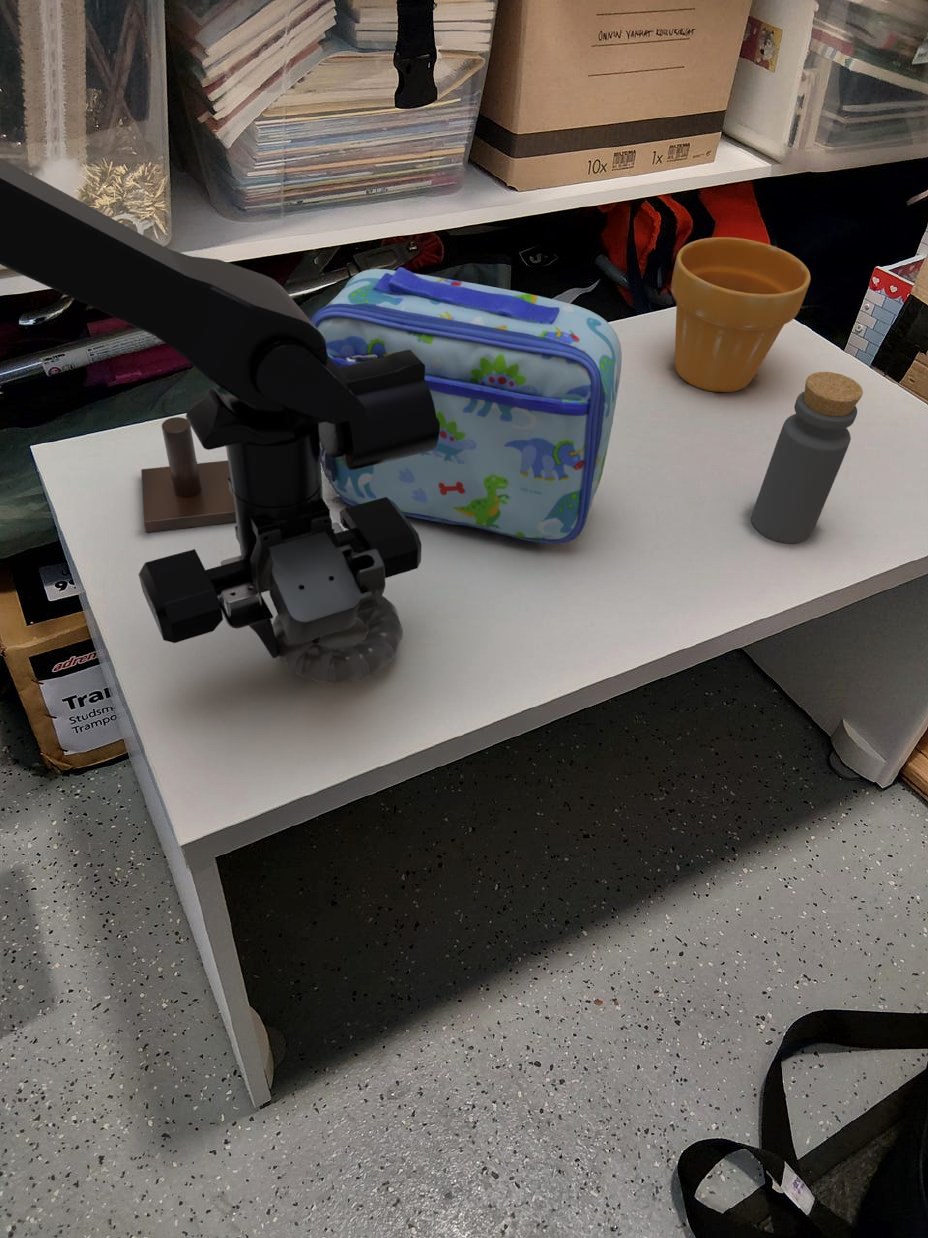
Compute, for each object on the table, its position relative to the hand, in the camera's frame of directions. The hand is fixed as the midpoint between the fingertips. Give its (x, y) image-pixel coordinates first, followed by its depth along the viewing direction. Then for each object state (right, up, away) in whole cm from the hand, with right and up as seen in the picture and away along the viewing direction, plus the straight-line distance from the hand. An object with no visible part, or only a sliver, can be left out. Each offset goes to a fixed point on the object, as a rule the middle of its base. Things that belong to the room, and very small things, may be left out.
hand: (292, 647), depth 71 cm
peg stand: (-12, +13, +16) cm, 24 cm away
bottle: (+43, +11, +18) cm, 48 cm away
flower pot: (+42, +31, +38) cm, 64 cm away
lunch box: (+12, +13, +18) cm, 25 cm away
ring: (+3, +1, +1) cm, 4 cm away
